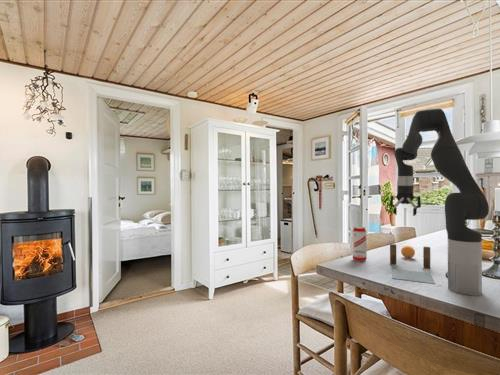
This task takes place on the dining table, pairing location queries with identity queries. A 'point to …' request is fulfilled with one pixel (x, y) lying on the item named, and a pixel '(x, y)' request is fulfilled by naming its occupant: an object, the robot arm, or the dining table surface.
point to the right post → (426, 257)
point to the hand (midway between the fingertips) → (404, 215)
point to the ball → (408, 251)
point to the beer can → (359, 244)
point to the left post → (393, 254)
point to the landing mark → (412, 276)
